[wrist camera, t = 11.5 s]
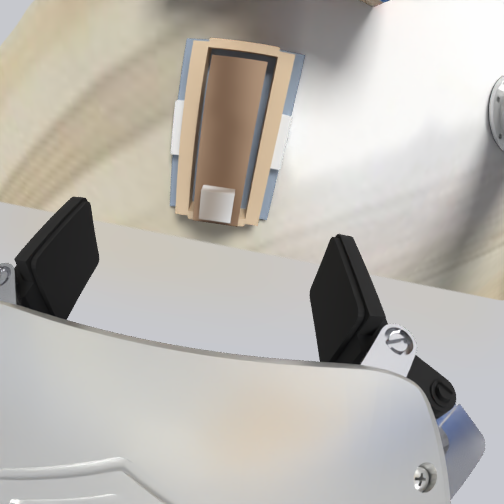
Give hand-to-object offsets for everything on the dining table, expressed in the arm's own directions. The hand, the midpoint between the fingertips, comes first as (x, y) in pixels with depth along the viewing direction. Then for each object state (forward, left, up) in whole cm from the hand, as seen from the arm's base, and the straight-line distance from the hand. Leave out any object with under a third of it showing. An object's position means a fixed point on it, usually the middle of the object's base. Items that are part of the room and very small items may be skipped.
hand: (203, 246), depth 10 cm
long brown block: (+1, +1, -22) cm, 22 cm away
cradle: (+1, +1, -22) cm, 22 cm away
